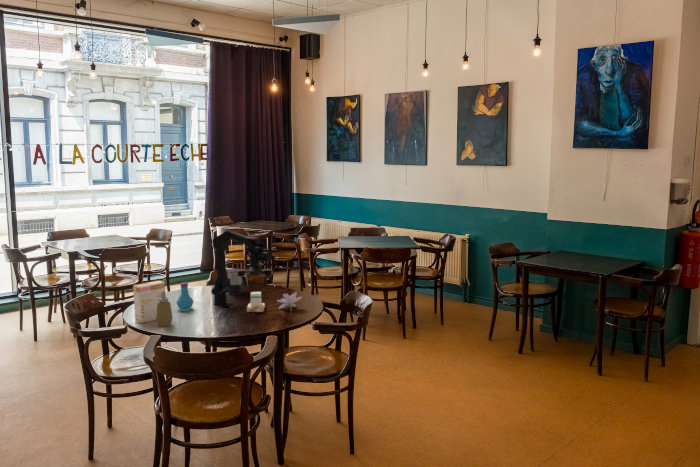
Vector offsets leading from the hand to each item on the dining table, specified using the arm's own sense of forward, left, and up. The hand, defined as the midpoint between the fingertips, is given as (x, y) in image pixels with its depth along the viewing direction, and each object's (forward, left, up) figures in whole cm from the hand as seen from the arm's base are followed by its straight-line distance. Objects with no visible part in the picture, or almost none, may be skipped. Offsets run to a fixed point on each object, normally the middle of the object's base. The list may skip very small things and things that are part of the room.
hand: (255, 287), depth 338 cm
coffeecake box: (-54, -15, -13) cm, 58 cm away
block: (0, 0, -13) cm, 13 cm away
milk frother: (-20, +42, -13) cm, 48 cm away
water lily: (+19, 0, -13) cm, 23 cm away
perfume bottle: (-40, +4, -13) cm, 42 cm away
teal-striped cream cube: (0, 0, -10) cm, 10 cm away
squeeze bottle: (-44, -27, -13) cm, 53 cm away
